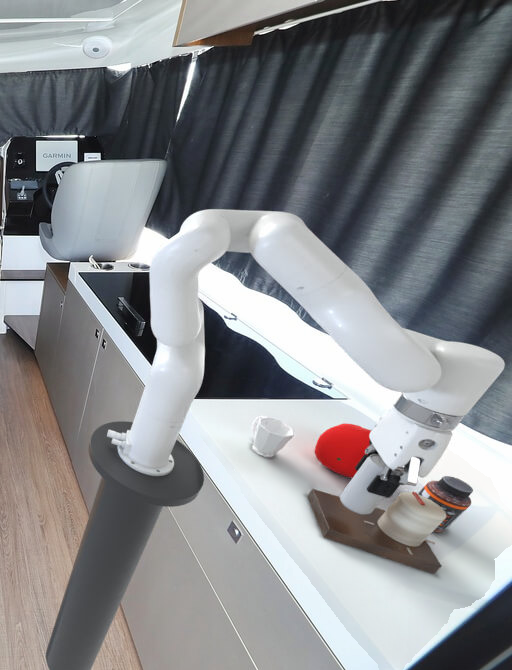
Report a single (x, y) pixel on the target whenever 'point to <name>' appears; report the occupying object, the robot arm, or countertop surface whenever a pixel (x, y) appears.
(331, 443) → the tomato
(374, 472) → the beverage can
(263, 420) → the cup
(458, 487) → the supplement bottle
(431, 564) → the dial plaque
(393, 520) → the cream dial knob
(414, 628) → the countertop surface
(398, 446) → the robot arm
